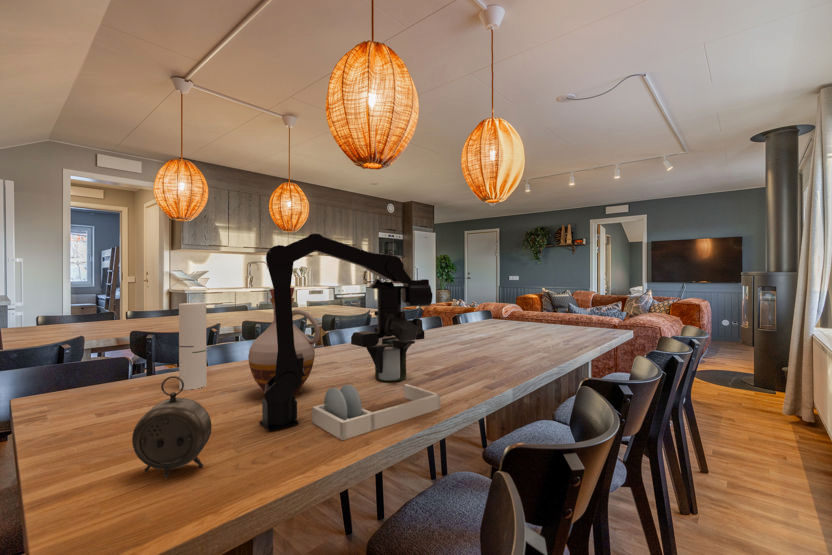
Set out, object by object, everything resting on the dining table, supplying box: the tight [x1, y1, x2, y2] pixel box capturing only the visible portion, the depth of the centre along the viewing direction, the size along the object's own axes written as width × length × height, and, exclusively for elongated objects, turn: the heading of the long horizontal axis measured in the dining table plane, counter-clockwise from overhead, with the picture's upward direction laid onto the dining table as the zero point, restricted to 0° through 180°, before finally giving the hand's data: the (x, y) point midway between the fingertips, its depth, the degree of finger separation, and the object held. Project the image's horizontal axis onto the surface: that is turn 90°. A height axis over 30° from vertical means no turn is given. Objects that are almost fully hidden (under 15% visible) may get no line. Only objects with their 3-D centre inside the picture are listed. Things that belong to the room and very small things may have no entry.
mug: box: [374, 339, 407, 383], centre depth 125 cm, size 11×15×12 cm
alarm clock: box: [131, 375, 212, 479], centre depth 65 cm, size 11×5×16 cm, turn 102°
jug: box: [247, 286, 321, 395], centre depth 111 cm, size 20×18×30 cm
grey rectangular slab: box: [379, 347, 400, 380], centre depth 95 cm, size 5×5×7 cm
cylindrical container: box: [178, 302, 208, 391], centre depth 117 cm, size 7×7×25 cm
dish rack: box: [311, 383, 442, 441], centre depth 92 cm, size 28×13×9 cm, turn 132°
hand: (389, 371), depth 95 cm, fingers closed on grey rectangular slab, 5 cm apart
